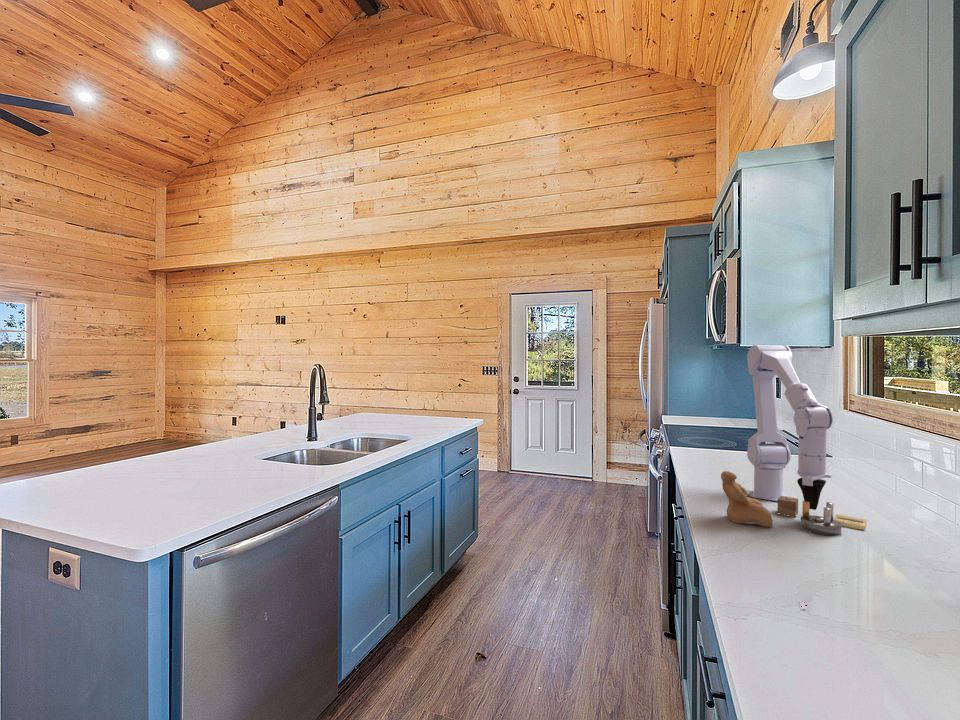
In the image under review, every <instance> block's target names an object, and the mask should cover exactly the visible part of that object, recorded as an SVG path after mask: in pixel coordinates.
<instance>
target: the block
mask: <svg viewBox="0 0 960 720" xmlns="http://www.w3.org/2000/svg"><path fill="white" fill-rule="evenodd" d="M776 510H777V512H776V513H780V514H785V515H784V516H786V515H789V516H788V517H791V516H793V517H792V518H796V517H797V516H798V514H799V498H798V497H791V496H780V497H779V498H778V502H777V509H776ZM780 514H779V515H780ZM796 515H797V516H796Z"/></svg>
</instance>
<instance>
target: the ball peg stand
mask: <svg viewBox="0 0 960 720" xmlns="http://www.w3.org/2000/svg"><path fill="white" fill-rule="evenodd" d="M809 504H810V502H808V501H804V500H802V509H801V510H802V511H801V514H802V516H801V517H800V528H801V527H802V528H801V529H803V530H805V531H806V530H807V531H806V532H809V531H810V532H809V533H813V534H816V535H820V536H821V535H822V536H831V537H833V536H840V535H842V526H841V525H842V524H841V523H840V522H838V521H836V520H834V519H835V518H834V503H833V502H830V501H826V503H825V504H826V507H823V516H821V515H812V514H811V515H810V509H809Z"/></svg>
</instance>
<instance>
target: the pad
mask: <svg viewBox="0 0 960 720" xmlns="http://www.w3.org/2000/svg"><path fill="white" fill-rule="evenodd" d="M833 519H834V520H836V521H838V522H840V523H841V524H842V525H841V527H845V528H850V529H855V530H861V531H865V530H866V528H867V519H865V518H859V517H855V516H848V515H844V514H843V515H842V514H836V515H835V517H834V518H833Z"/></svg>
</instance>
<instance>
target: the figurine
mask: <svg viewBox="0 0 960 720" xmlns="http://www.w3.org/2000/svg"><path fill="white" fill-rule="evenodd" d="M720 478H721V482H722V484H721V485H722V490H723V492H724V493H725V495H726V497H727V499H728V505H727V507H726V516H727V518H728V519H729V520H730V521H732V522H734V523H737V524H745V523H748V522H752V523H754V524H756V525H758V526H760V527H764V528H771V527H773V526H774V525H773V518H772V514H771V512H770V511H769V509H767V507H764V506H763V504H762V502H761V501H759V500H758V498H754V497H748V496H747V492H748V491H747V490H746V488H744V487H743V486H742V485H741V484H739V483H738V482H736V480H737V478H738V477H737V474H735V473H734V472H731V471H729V470H727V471H726V470H725V471H722V472H721V474H720Z"/></svg>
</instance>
